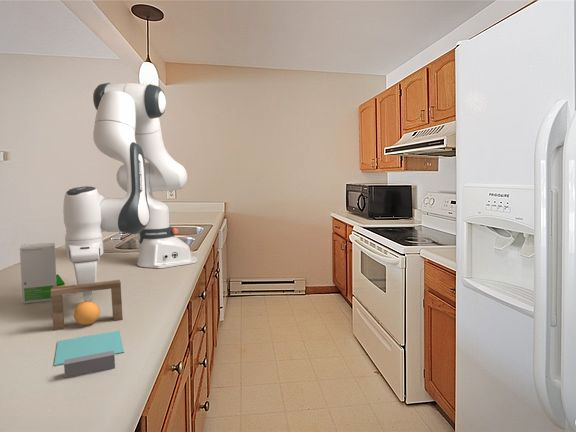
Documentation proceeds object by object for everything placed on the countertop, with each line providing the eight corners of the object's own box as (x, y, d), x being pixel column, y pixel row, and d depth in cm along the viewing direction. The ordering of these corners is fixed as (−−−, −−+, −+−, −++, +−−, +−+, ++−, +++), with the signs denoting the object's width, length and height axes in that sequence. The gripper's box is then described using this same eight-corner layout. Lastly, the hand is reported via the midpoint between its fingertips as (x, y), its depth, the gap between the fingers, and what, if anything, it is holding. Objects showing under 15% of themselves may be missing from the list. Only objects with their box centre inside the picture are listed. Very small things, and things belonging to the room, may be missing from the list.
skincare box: (22, 304, 110) (17, 248, 108) (24, 297, 116) (20, 244, 114) (57, 299, 114) (53, 245, 112) (58, 293, 119) (54, 241, 118)
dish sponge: (38, 295, 120) (37, 287, 120) (33, 284, 131) (33, 277, 131) (65, 290, 124) (64, 283, 124) (58, 281, 135) (58, 274, 135)
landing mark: (119, 331, 91) (119, 330, 90) (124, 352, 80) (123, 351, 80) (57, 341, 85) (57, 340, 85) (54, 366, 75) (54, 365, 75)
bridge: (54, 326, 94) (51, 287, 93) (121, 315, 100) (119, 279, 99) (53, 330, 91) (50, 290, 90) (122, 319, 98) (120, 282, 97)
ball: (100, 319, 99) (98, 296, 98) (101, 325, 94) (99, 301, 93) (74, 323, 96) (72, 300, 96) (74, 329, 91) (72, 305, 91)
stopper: (114, 363, 75) (113, 350, 75) (115, 367, 74) (114, 354, 73) (65, 373, 72) (64, 359, 72) (65, 378, 70) (64, 364, 70)
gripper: (72, 243, 114) (75, 291, 116) (70, 256, 96) (74, 313, 98) (97, 241, 117) (99, 288, 119) (99, 254, 99) (102, 309, 101)
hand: (88, 299), depth 108 cm, fingers closed
